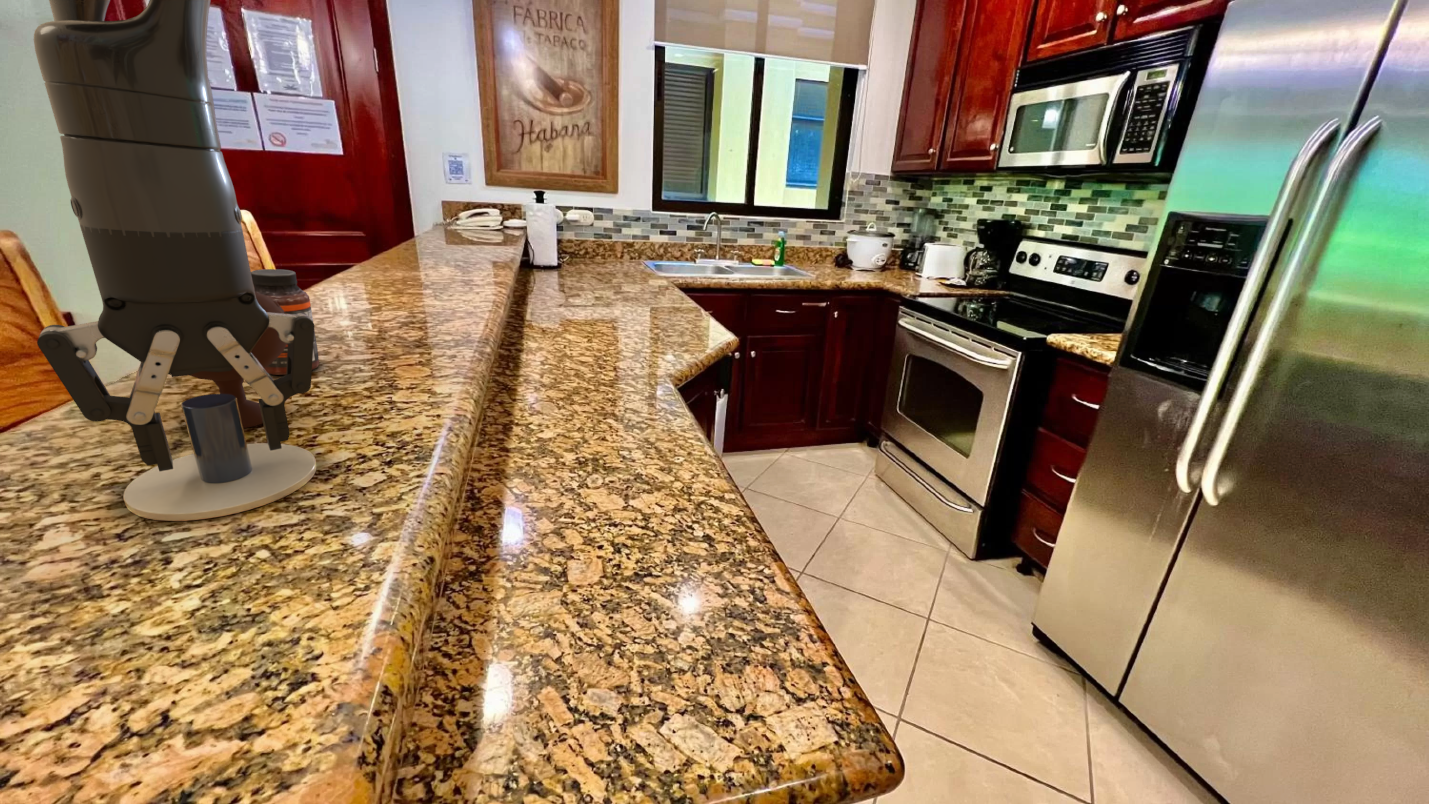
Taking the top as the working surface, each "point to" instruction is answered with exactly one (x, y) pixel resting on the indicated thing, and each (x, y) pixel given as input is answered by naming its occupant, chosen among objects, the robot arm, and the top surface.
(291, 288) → the supplement bottle
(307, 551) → the top surface
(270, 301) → the ice cream bowl
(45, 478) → the top surface
